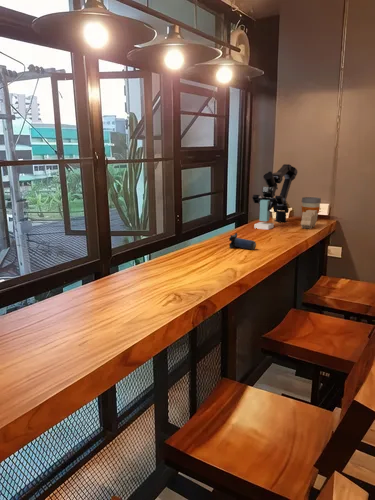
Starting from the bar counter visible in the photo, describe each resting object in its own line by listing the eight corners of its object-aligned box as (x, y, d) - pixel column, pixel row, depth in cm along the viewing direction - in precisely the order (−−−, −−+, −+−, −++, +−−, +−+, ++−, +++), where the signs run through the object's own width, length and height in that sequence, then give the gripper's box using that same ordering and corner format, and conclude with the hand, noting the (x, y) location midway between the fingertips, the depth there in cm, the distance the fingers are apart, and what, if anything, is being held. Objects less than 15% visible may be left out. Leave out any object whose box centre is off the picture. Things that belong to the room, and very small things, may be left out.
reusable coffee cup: (317, 218, 277) (319, 197, 273) (320, 221, 265) (322, 199, 261) (299, 218, 279) (300, 197, 275) (301, 221, 267) (302, 198, 263)
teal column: (262, 219, 245) (262, 199, 242) (269, 220, 243) (270, 200, 240) (259, 220, 241) (260, 200, 238) (266, 221, 239) (267, 200, 236)
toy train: (300, 229, 238) (301, 212, 236) (307, 224, 253) (308, 209, 250) (309, 230, 236) (310, 213, 233) (316, 225, 250) (317, 210, 248)
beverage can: (228, 251, 190) (252, 255, 185) (228, 236, 187) (252, 240, 181) (235, 244, 197) (258, 248, 192) (235, 229, 194) (258, 233, 189)
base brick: (259, 226, 249) (260, 222, 248) (273, 228, 244) (273, 223, 244) (254, 228, 242) (254, 224, 241) (268, 230, 237) (268, 225, 236)
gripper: (253, 181, 244) (246, 200, 238) (283, 182, 235) (276, 202, 228) (257, 193, 253) (250, 212, 246) (286, 194, 243) (279, 214, 237)
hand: (264, 210), depth 239 cm, fingers closed on teal column, 4 cm apart
